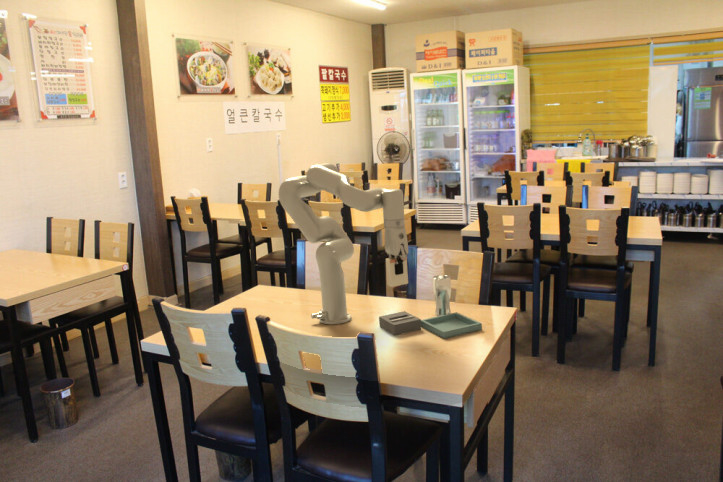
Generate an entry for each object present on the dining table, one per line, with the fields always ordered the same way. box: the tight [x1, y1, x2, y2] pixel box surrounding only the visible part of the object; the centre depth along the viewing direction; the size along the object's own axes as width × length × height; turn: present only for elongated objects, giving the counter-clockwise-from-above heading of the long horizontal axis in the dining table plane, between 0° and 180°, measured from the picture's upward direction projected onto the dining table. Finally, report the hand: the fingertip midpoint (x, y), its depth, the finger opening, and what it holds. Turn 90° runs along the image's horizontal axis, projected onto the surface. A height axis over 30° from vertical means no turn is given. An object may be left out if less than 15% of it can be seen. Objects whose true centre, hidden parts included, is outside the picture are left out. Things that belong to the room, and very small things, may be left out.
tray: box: [421, 312, 483, 340], centre depth 221 cm, size 16×16×2 cm
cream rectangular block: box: [385, 256, 409, 288], centre depth 221 cm, size 7×3×10 cm, turn 116°
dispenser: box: [378, 310, 422, 337], centre depth 225 cm, size 11×12×4 cm
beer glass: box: [432, 274, 452, 317], centre depth 237 cm, size 7×7×15 cm
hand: (397, 272), depth 222 cm, fingers closed on cream rectangular block, 2 cm apart
